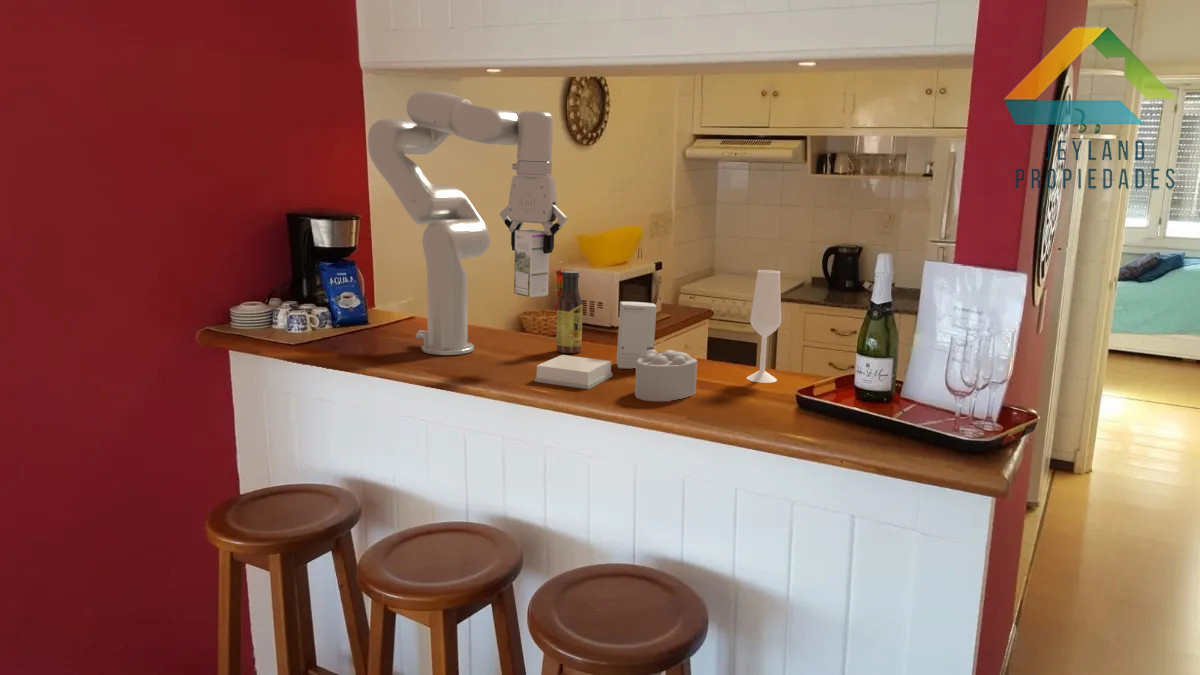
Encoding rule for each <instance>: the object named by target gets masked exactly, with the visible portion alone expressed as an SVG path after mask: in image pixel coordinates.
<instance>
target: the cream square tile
mask: <svg viewBox="0 0 1200 675" xmlns="http://www.w3.org/2000/svg"><path fill="white" fill-rule="evenodd" d="M613 376H614V375H613V372H612V361H611V360H605V359H597V358H590V357H589V358H588V357H581V356H575V355H574V356H573V355H568V354H567V355H566V354H561V355H558V356H556V357H554V358H551V359H549V360H547V361H544V362H541V363H540V364H538V365H536V377H534V382H536V383H541V384H548V385H549V384H550V385H557V386H563V387H571V388H577V389H583V390H585V389H586V390H590V389H592V388H593V387H595V386H597V385H599V384H601V383H603V382H605V381H607V380H609V379H610V378H613Z"/></svg>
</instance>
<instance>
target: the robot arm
mask: <svg viewBox="0 0 1200 675" xmlns="http://www.w3.org/2000/svg"><path fill="white" fill-rule="evenodd" d="M406 112H407V116H408V117H409V118H401V117H386V118H381V119H379V120H377V121H375V122H374V123H373V124H372V125H371V126H370V128H369V130H368V133H367V134H368V135H367V148H368V154H369V156H370V158H371V161H372V163H373V165H374V166H375V169H376V170H377V171H378V172H379V174H380V175H381V176H382V177H383V179H384V180H385V181H386V182H387V184H388V185H389V186H390V187H391V189H392V190H393V192H394V195H395V196H396V197H397V198H398V200H399V202H400V203H401V206H403V208H404V209H405V211H406V212H407V214H408V215H409V216H410V218H411V219H412V220H413V221H414V222H415V223H416V224H418V225H423V226H426V228H425V229H424V231H423V233H422V240H421V242H422V243H421V244H422V248H423V253H424V260H425V264H426V284H427V285H426V287H427V288H426V289H427V330H422V329H418V330H417V332H416V335H415V339H417V340H423V342H424V343H423V344H421V351H422V352H423V353H425V354H429V355H437V356H457V355H466V354H469V353H472V352H473V351H474V350H475V345H474V344H473V343H472V342H468V276H467V272H466V269H465V267H464V265H463V262H462V259H468V258H469V259H471V258H477V257H481V256H483V255H484V254H486V253H487V251H488V249H489V247H490V244H491V234H490V232H489V228H488V226H487V224H486V223H485V221H484V220H483V218H482V217H481V216H480V214H479V212H478V211H477V210H476V208H475V206H474V205H473V203H472V202H471V201H470V199H469V197H467V195H466V194H465V193H464V192H463V191H462V190H461V189H460V188H458V187H456V186H453V185H445V184H444V185H443V184H442V185H438V184H434V183H432V182H431V181H430V180H429V179H428V178H427V176H426V175H425V173H424V172H423V170H422V169H421V168H420V166H419V165H418V164H417V163H416V162H414V161H413V160H412V159H411V158H409V157H408V156H407V155H426V154H429V153H432V152H434V151H435V150H437V149H438V148H439V146H441V145H442V144H443V143H444V142H445V141H446V140H448V138H450V136H451V135H454V136H457V137H458V138H460V139H464V140H467V141H472V142H477V143H479V144H480V143H481V144H486V145H501V146H504V145H505V146H517V147H516V148H517V151H516V153H517V154H516V155H517V156H516V163H512V165H511V168H512V170H514V171H516V172H515V173H516V175H513V177H512V180H511V184H510V189H509V196H508V205H507V206H506V207H505V208H504V209H503V210H501V211H500V212H499V216H500V217H501V219H502V221H503V222H504V224H505V225H506V227H507V228H508V230H509V232H510V234H511V235H510V245H511V250H512V251H514V252H515V230H520V229H522V226H523V224H524V223H530V224H531V223H532V224H541V225H542V227H543V229H544V230H543V231H545V232H546V235H544V242H543V253H545V254H547V253H549V254H551V253H552V254H553V250H554V248H555V235H557V233H558V232H559V230H560V229H561V228H562V227H563V226H564V225H565V223H566V222H567V221H568V216H567V215H566V214H564V213H563V212H562V211H561V209H559V208H558V202H557V201H558V198H557V189H556V182H555V177H552V172H553V171H552V168H553V166H552V165H553V138H554V133H553V132H554V118H553V115H552V114H551V113H550V112H546V111H536V110H524V111H519V110H511V109H502V108H501V109H500V108H490V107H486V106H485V107H484V106H479V105H475V104H473V103H472V101H471V100H469V99H468V98H466V97H461V96H458V95H456V94H454V93H450V92H445V91H444V92H443V91H436V90H419V91H416V92H414V93H413V94H412V95H411V96H410V97H409V98H408V100H407V102H406ZM556 220H557V221H556ZM555 221H556V222H555ZM554 222H555V223H554Z"/></svg>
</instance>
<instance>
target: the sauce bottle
mask: <svg viewBox="0 0 1200 675" xmlns="http://www.w3.org/2000/svg"><path fill="white" fill-rule="evenodd" d="M561 275H562V276H561V277H562V286H561V288H562V291H561V292H560V294H559V295H558V297H557V308H556V340H555V344H556V352H557V353H561V354H567V355H568V354H569V355H572V354H577V353H580V352H581V349H582V348H581V347H582V341H583V340H582V338H583V335H582V334H583V333H582V332H583V301H582V298H581V295H580V292H579V279H580V278H579V277H580V272H579V271H575V270H570V271H569V270H567V271H566V270H565V271H564V270H563V271H562V274H561Z"/></svg>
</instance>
